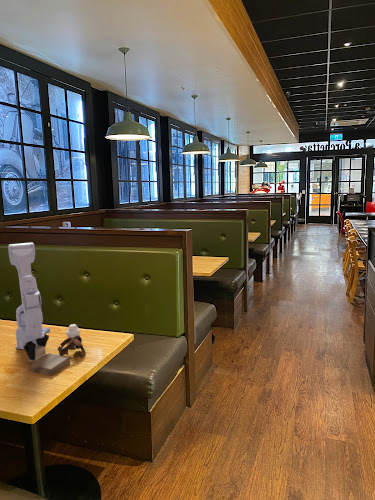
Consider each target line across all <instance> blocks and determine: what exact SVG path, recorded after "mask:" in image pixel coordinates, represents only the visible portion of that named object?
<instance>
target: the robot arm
mask: <svg viewBox="0 0 375 500" xmlns="http://www.w3.org/2000/svg"><path fill="white" fill-rule="evenodd" d="M7 251H8V256H9V263H10V265H12V266H15V268H16V270H17V273H18V274H17V275H18V281H19V290H20V296H21V305H19V306H18V307H17V308H16V311H15V314H16V315H15V317H16V325H17V328H16V330H15V339H16V346H15V349H18V350H19V349H20V350H25V352H26V355H27V357H28V356H29V359H30V360H35V347H36V345H40V346H45V348H46V346H47V343H48V341H49V339H50V335H49V333H51V327H43V322H44V317H43V311H42V297H41V293H40V291H39V289H38V285H37V280H36V277H34V275H32V266H31V264H32V263H34V262H35V259H36V247H35V243H34V242H32V241H31V242H24V243H11V244H10V243H9V244H8V245H7Z"/></svg>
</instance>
